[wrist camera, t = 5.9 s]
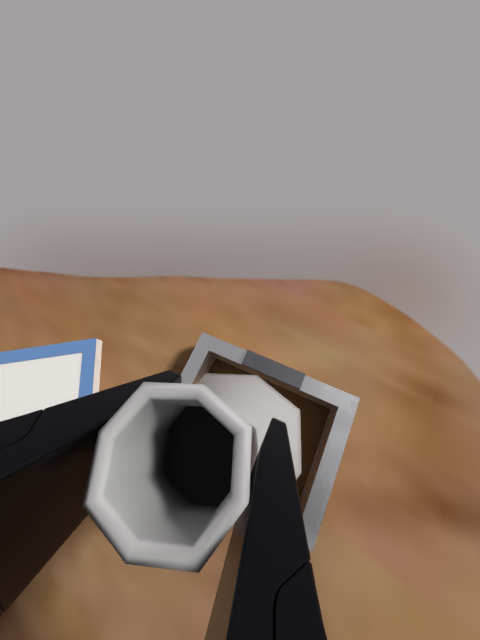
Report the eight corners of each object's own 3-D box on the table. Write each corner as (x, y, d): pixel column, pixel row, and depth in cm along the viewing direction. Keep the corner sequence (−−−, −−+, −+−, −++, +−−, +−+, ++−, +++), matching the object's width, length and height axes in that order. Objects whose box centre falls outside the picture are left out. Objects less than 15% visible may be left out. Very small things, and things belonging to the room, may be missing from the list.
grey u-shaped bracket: (306, 534, 17) (313, 554, 14) (155, 449, 20) (137, 453, 17) (349, 401, 19) (361, 397, 17) (209, 342, 22) (201, 330, 19)
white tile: (-60, 513, 19) (-74, 517, 19) (-24, 359, 23) (-35, 357, 23) (91, 495, 19) (83, 499, 18) (102, 341, 23) (95, 338, 22)
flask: (140, 484, 14) (-106, 593, 5) (199, 353, 16) (107, 256, 7) (276, 555, 13) (298, 918, 3) (321, 400, 15) (409, 352, 5)
